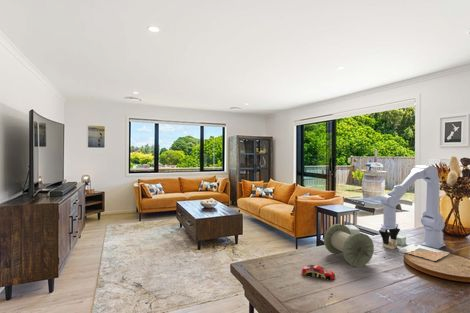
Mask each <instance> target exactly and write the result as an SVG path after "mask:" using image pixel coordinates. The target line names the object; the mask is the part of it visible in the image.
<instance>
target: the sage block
mask: <svg viewBox="0 0 470 313" xmlns="http://www.w3.org/2000/svg"><path fill="white" fill-rule="evenodd" d="M396 240H397V246H401V247H402V246H404V245H406V244H407V236H404V235H399V234H398V235H397V238H396Z"/></svg>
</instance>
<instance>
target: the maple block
mask: <svg viewBox="0 0 470 313" xmlns="http://www.w3.org/2000/svg"><path fill="white" fill-rule="evenodd" d="M382 247H383V248H385V249H389V250H394V249H397V247H398V245H397V240H394V239H390V237H389V243H388V245H386V244H384V243H383V242H382Z"/></svg>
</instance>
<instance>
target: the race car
mask: <svg viewBox="0 0 470 313" xmlns="http://www.w3.org/2000/svg"><path fill="white" fill-rule="evenodd" d="M301 274H302V275H304V276H305V275H306V277H307V276H311V277H310V278H315V277H318V278H317V279H321V278H323V279H322V280H326V279H328V280H327V281H331V280H334V279H336V274H335V272H334V271H333V270H330V269H327V268H324V267H323V266H321V265H317V264H308V265H303V267H302V269H301Z"/></svg>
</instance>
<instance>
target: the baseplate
mask: <svg viewBox="0 0 470 313" xmlns="http://www.w3.org/2000/svg"><path fill="white" fill-rule="evenodd" d="M424 250H425V251H433V252H441V253H447V254H449V255H450V251H449V252H448V251H444V250H440V249H437V248H433V247H429V246H425V245H421V244H418V243H417V244H416V243H411V244H409V245H407V246H404V247H402V248H399V249H398V252H399V253H402V254H405V253H407V252H411V251H424Z"/></svg>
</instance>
